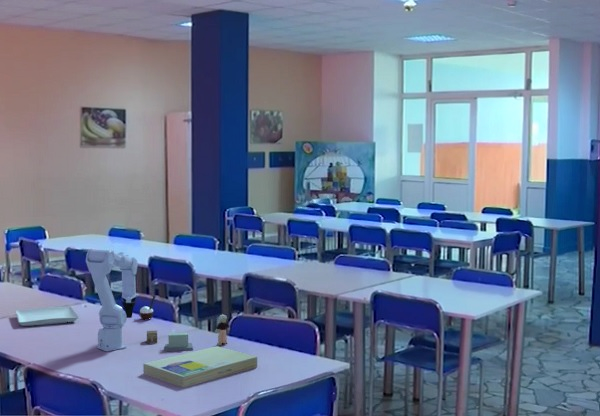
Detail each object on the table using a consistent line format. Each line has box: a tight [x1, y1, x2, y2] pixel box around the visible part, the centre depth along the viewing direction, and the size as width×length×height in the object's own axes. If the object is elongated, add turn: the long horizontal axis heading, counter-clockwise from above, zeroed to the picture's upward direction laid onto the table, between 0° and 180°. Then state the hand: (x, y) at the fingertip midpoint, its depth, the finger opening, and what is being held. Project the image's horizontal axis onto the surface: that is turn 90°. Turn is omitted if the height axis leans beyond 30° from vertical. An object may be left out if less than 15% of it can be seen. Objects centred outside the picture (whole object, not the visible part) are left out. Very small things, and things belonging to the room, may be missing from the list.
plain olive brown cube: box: [146, 330, 158, 344], centre depth 320 cm, size 5×4×4 cm
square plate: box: [14, 306, 80, 327], centre depth 361 cm, size 27×27×4 cm
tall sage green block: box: [168, 331, 189, 347], centre depth 310 cm, size 8×4×5 cm, turn 101°
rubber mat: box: [164, 342, 194, 352], centre depth 310 cm, size 11×8×1 cm
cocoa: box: [138, 295, 156, 320], centre depth 364 cm, size 10×6×12 cm, turn 44°
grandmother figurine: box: [214, 314, 231, 346], centre depth 317 cm, size 8×4×13 cm, turn 143°
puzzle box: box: [142, 345, 258, 388], centre depth 278 cm, size 36×5×24 cm
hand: (129, 315), depth 323 cm, fingers open, 7 cm apart
